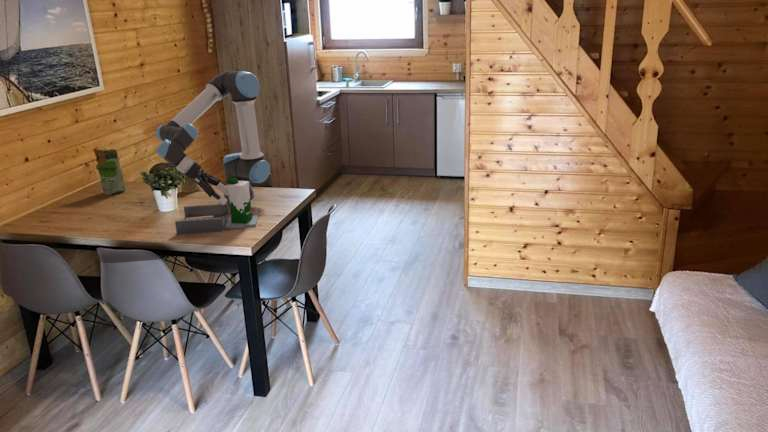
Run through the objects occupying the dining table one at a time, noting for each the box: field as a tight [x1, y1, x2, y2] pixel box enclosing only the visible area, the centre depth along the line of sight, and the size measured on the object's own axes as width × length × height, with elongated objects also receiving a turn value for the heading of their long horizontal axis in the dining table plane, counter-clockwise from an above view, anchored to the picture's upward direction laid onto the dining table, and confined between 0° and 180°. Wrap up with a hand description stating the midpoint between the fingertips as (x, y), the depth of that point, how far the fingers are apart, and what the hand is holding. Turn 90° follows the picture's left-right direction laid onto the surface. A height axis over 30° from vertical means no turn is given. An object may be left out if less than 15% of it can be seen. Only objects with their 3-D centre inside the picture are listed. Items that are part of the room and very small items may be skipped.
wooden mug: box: [181, 173, 200, 194], centre depth 340 cm, size 9×14×18 cm, turn 78°
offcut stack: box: [185, 215, 215, 220], centre depth 284 cm, size 6×16×5 cm, turn 96°
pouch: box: [92, 148, 126, 195], centre depth 340 cm, size 11×12×25 cm
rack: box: [174, 202, 230, 236], centre depth 288 cm, size 22×20×6 cm
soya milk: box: [225, 177, 253, 224], centre depth 286 cm, size 9×9×20 cm
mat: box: [225, 214, 259, 229], centre depth 290 cm, size 13×13×1 cm
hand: (227, 198), depth 285 cm, fingers open, 13 cm apart
